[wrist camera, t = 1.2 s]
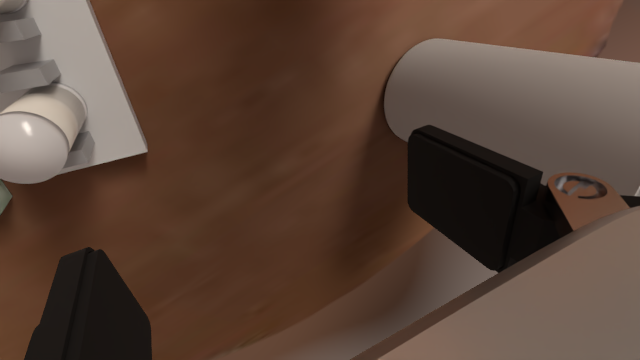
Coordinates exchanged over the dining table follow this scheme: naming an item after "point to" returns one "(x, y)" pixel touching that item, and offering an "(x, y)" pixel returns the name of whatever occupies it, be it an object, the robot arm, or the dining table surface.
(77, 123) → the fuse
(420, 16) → the dining table surface
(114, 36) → the dining table surface
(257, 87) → the dining table surface
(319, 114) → the dining table surface
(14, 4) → the fuse marked
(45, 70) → the holder
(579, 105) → the cylinder vase
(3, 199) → the tray
